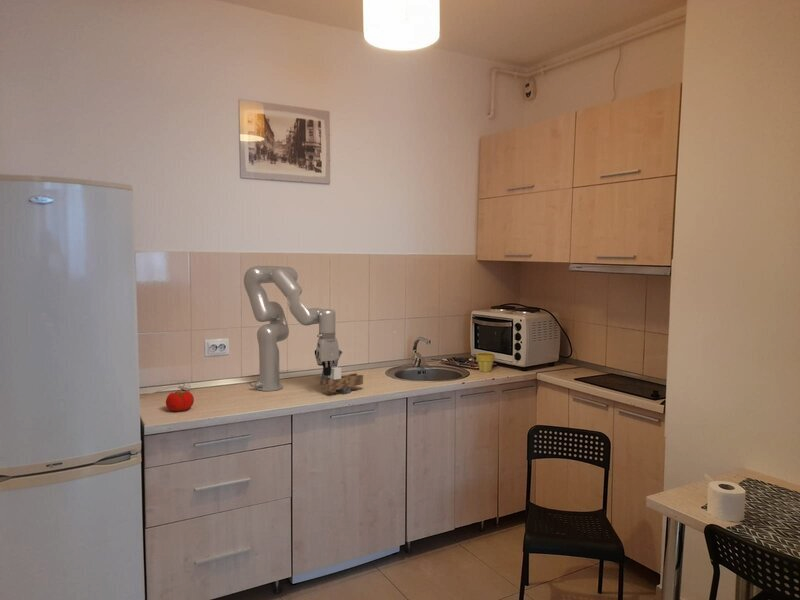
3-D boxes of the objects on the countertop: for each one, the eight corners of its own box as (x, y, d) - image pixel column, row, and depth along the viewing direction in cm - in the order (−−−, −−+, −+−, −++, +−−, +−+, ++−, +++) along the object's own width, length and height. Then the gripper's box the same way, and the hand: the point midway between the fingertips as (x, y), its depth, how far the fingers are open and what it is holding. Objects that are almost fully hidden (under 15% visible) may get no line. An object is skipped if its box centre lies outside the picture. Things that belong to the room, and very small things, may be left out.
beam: (329, 397, 251) (330, 381, 251) (321, 394, 256) (321, 379, 255) (363, 390, 265) (363, 375, 265) (355, 387, 270) (355, 373, 269)
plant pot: (484, 368, 321) (484, 351, 320) (498, 371, 313) (498, 354, 312) (472, 370, 314) (472, 353, 313) (485, 373, 306) (486, 356, 306)
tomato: (196, 405, 235) (195, 388, 235) (190, 413, 224) (189, 395, 224) (170, 406, 234) (169, 389, 233) (163, 414, 223) (162, 396, 222)
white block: (334, 384, 254) (334, 369, 253) (327, 382, 257) (327, 367, 257) (341, 383, 256) (341, 367, 256) (334, 381, 260) (334, 366, 259)
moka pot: (339, 386, 273) (339, 346, 271) (310, 384, 276) (310, 345, 274) (345, 381, 282) (345, 343, 281) (317, 380, 285) (317, 342, 284)
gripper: (318, 338, 244) (318, 379, 246) (345, 335, 254) (345, 374, 256) (309, 336, 250) (309, 376, 251) (335, 333, 260) (335, 371, 261)
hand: (327, 375), depth 253 cm, fingers closed
